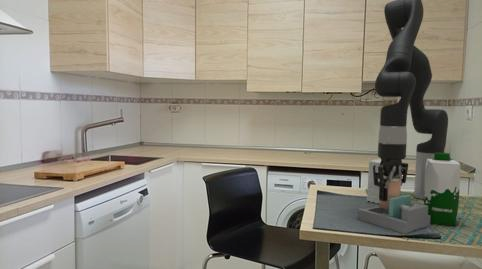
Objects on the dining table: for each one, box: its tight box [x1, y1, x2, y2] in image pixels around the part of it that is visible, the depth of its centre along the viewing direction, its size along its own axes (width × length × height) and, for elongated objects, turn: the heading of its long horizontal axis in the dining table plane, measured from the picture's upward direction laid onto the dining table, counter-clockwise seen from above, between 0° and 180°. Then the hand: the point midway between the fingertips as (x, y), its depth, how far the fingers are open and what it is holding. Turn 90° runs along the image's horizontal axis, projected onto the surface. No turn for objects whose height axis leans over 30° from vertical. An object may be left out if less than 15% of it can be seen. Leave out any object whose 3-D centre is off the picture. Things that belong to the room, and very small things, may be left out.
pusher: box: [389, 194, 412, 220], centre depth 100 cm, size 9×3×7 cm, turn 124°
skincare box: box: [366, 158, 386, 204], centre depth 127 cm, size 8×6×15 cm
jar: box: [378, 177, 402, 209], centre depth 104 cm, size 6×6×9 cm
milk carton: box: [423, 152, 462, 227], centre depth 104 cm, size 9×9×20 cm
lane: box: [356, 203, 431, 235], centre depth 103 cm, size 12×15×6 cm
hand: (389, 199), depth 104 cm, fingers closed on jar, 5 cm apart
